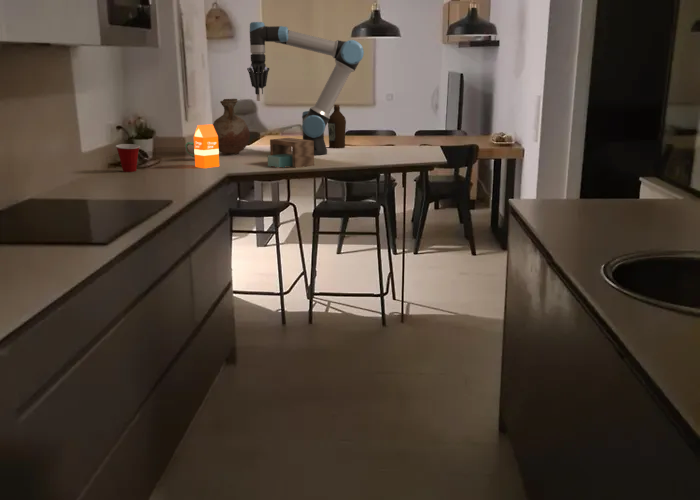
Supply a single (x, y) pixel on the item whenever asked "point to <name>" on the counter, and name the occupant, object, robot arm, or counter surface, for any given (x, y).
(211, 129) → the orange juice
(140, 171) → the counter surface
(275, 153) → the shelf
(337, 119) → the olive oil
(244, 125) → the jug
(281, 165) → the teal rectangular block
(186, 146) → the mug
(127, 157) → the plastic cup
